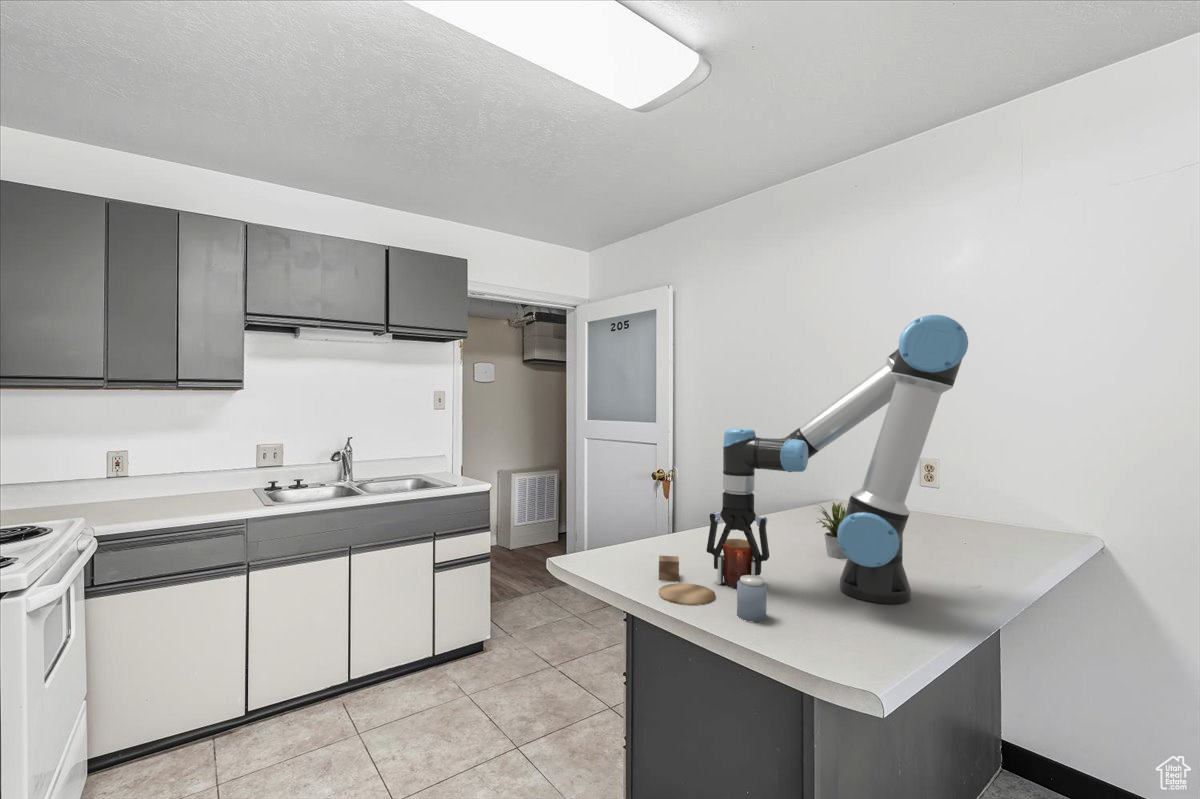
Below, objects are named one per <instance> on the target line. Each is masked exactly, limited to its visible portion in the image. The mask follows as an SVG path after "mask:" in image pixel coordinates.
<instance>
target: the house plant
mask: <svg viewBox="0 0 1200 799" xmlns="http://www.w3.org/2000/svg"><path fill="white" fill-rule="evenodd" d="M812 504H813V505H815V503H812ZM842 504H843V502H841V503H838V504H837V505H836V503H835V502H834V501H832V506H831V512H832V513H831V514H832V518H833V519H832V518H831V517H830V514H828V512H827V511H826V510H825V508H824V507H823V506H821V504H816V505H817V506H820V507H818V508H817V509H818V511H817V513H818V512H819V513H822V514H823V515H824V516H825V518H817V517H816V519H817V520H819V521H817V522H815V524H820V523H821V524H823V525H822V526H821V529H823V528H826V531H829V532H825V533H824V541H825V547H826V553H827V556H828V557H830V558H833V559H841V560H842V559H846V558H848V557H847V556H846V555H845V554H844V553H843V551H842V550H841V548H840V546H839V543H838V537H837V531H838V527H839V524H840V523H841V522H842V520H843V519H844V516H845V513H846V507H845V506H843V505H842ZM843 507H844V508H843ZM814 509H816V508H814ZM822 520H823V521H822ZM825 521H827V522H828V523H829V524H830V525H829V524H828V523H827V522H825Z"/></svg>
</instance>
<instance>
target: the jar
mask: <svg viewBox="0 0 1200 799" xmlns="http://www.w3.org/2000/svg"><path fill="white" fill-rule="evenodd" d="M767 586H768V584H767V583H766V582H765V579H764V578H763V577H762V576H760V575H759V576H758V575H757V576H755V575H743V576H741V577H740V580H738V581H737V588H736V617H737V616H738V617H739V618H738V617H737V618H738V619H740V618H741V619H740V620H742V619H743V620H742V621H744V620H746V621H745V622H748V621H753V622H752V623H761V622H760V621H763V622H765V621H766V620H767V610H768V608H767V607H768V606H767V605H768V604H767V602H768V601H767V598H768V597H767V596H768V595H767V594H768V589H767V588H768V587H767ZM764 620H765V621H764Z"/></svg>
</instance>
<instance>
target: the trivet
mask: <svg viewBox="0 0 1200 799" xmlns="http://www.w3.org/2000/svg"><path fill="white" fill-rule="evenodd" d="M659 595H660V596H659ZM658 596H659V597H660V598H661V599H662V600H664V599H665V601H666V600H667V601H666V602H670V603H672V602H673V604H676V603H677V605H682V604H687V605H686V606H698V605H697V604H702V605H706V604H705V603H707V604H709V602H710V603H712V602H713V600H714V599H715V600H716V593H715V591H714V590H713V589H711V588H710V587H707V586H704V585H700V584H694V583H689V582H688V583H687V582H686V583H684V582H681V583H679V582H676V583H670V584H666V585H663V586H661V587H659V589H658ZM715 600H714V601H715ZM711 601H712V602H711Z"/></svg>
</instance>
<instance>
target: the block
mask: <svg viewBox="0 0 1200 799" xmlns="http://www.w3.org/2000/svg"><path fill="white" fill-rule="evenodd" d="M679 579H680V558H679V556H678V555H677V556H675V555H674V556H673V555H658V581H659V580H665V581H664V582H676V581H679V582H680V580H679Z"/></svg>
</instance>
